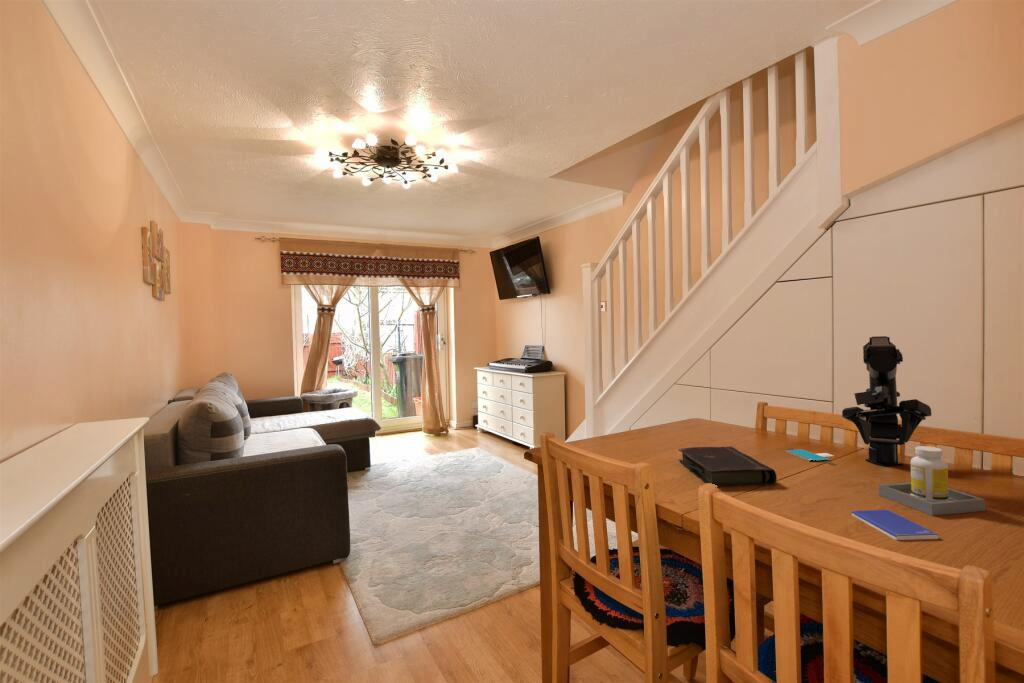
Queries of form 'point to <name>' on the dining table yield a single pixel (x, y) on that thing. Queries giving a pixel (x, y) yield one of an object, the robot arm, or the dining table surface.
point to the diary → (726, 467)
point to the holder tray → (954, 504)
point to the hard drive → (894, 525)
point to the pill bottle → (929, 474)
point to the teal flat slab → (809, 455)
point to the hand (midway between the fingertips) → (885, 443)
